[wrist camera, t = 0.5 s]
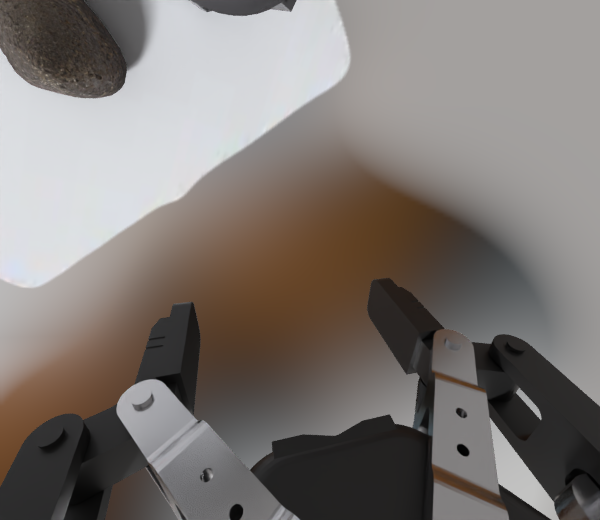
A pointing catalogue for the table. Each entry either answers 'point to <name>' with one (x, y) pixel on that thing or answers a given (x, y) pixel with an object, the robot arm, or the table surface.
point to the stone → (61, 47)
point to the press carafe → (284, 6)
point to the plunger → (238, 6)
